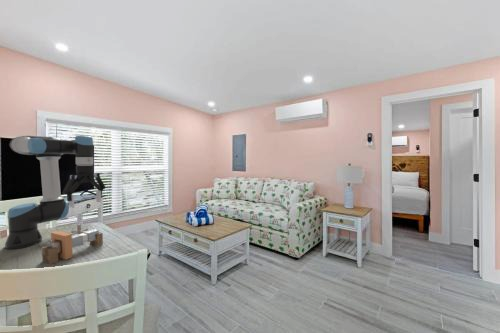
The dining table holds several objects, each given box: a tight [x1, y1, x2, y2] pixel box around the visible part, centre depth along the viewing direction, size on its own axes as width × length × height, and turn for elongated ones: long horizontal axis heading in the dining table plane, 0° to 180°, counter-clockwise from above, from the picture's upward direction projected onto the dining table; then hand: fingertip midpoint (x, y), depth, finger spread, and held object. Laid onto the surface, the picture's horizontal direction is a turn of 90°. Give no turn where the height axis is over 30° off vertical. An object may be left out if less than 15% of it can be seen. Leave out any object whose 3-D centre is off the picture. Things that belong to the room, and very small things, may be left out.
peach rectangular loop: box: [50, 230, 74, 260], centre depth 111 cm, size 12×3×12 cm, turn 68°
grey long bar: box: [46, 228, 100, 253], centre depth 116 cm, size 5×22×5 cm, turn 158°
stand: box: [41, 231, 104, 265], centre depth 116 cm, size 7×25×7 cm, turn 158°
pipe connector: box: [70, 223, 89, 235], centre depth 133 cm, size 10×10×10 cm
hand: (86, 204), depth 115 cm, fingers open, 13 cm apart
